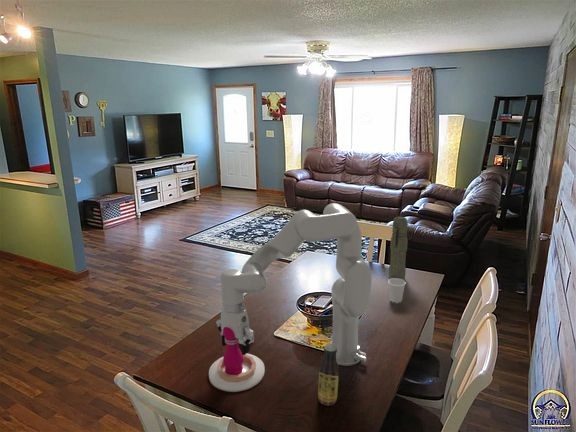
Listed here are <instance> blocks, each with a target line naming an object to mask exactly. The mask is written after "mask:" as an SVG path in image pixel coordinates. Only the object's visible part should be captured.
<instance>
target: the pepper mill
mask: <svg viewBox="0 0 576 432" xmlns="http://www.w3.org/2000/svg"><path fill="white" fill-rule="evenodd" d="M223 335H224V337H225V343H226V344H227V345H226V349H225V352H224V354H223V356H222V357H223V364H224V365H225V372H226V374H228V375H238V374H240V373H241V372H242V370H243V366H242V363H243V360H244V359H243V355H242V350H241V348H240V346H239V343H238V342H239V339H238V338H235V335H234V332H233V331H232V330H231V329H230V328H228V327H224V329H223Z"/></svg>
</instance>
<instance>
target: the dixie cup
mask: <svg viewBox="0 0 576 432" xmlns="http://www.w3.org/2000/svg"><path fill="white" fill-rule="evenodd" d="M387 283H388V293H389V301H390V302H391V301H392V302H391V303H393V302H395V303H394V304H400V303H402V302H403V297H404V292H405V287H406V284H407V282H406V280H402V279H399V278H392V279H389V278H388V281H387ZM401 301H402V302H401ZM399 302H400V303H399Z"/></svg>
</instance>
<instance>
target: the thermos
mask: <svg viewBox="0 0 576 432" xmlns="http://www.w3.org/2000/svg"><path fill="white" fill-rule="evenodd" d="M408 224H409V223H408V220H407V217H404V216H399V215H398V216H396V217H394V219H393V222H392V233H391V234H392V235H391V237H390V246H389V247H390V248H389V249H390V259H389V260H390V261H389V266H388V280H389V279H392V278H399V279H402V280H404V281H406V280H405V279H406V271H407V269H406V268H407V267H406V257H407V255H406V254H407V251H408V242H409V241H408V240H409V239H408V235H407V233H408Z"/></svg>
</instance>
